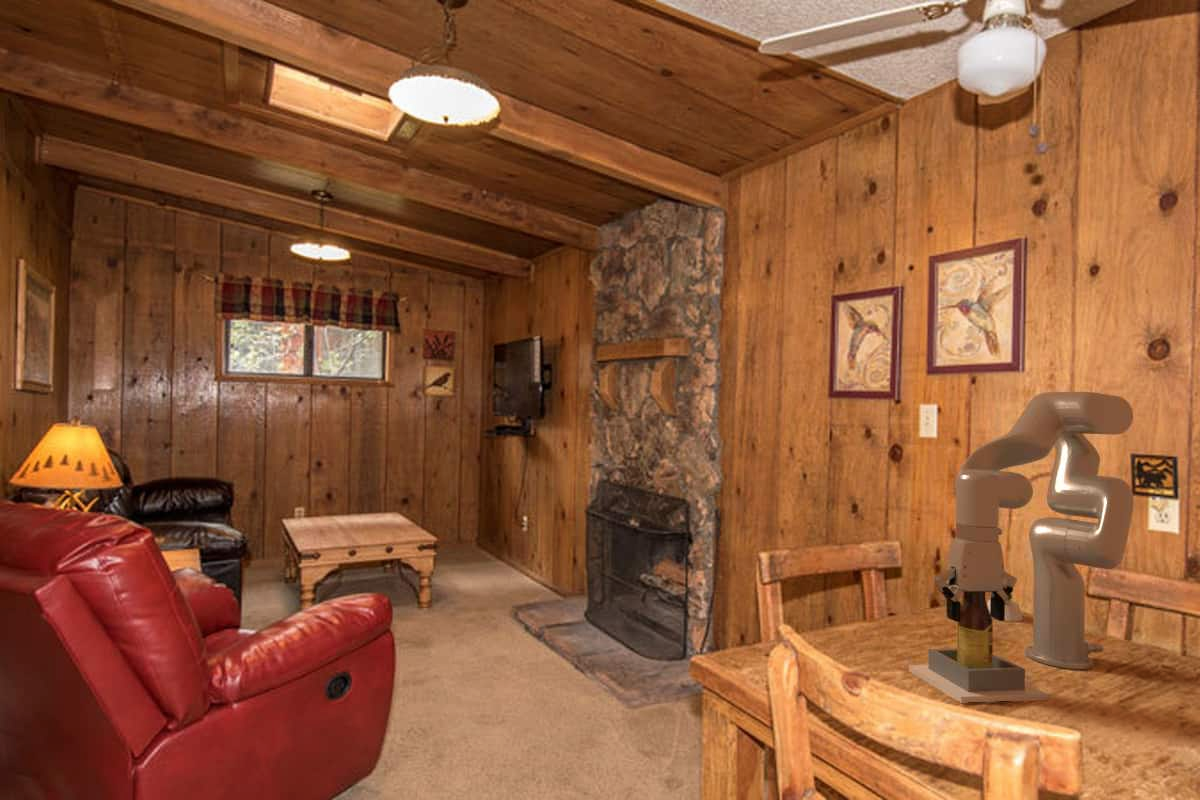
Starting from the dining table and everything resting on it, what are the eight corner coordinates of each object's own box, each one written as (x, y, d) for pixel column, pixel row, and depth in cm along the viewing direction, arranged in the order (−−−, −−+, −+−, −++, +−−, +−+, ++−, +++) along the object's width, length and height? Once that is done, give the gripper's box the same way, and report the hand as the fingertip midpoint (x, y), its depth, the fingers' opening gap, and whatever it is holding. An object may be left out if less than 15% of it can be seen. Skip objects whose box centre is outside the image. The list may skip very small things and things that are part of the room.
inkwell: (1021, 615, 186) (1021, 579, 187) (1027, 633, 170) (1027, 593, 171) (983, 610, 191) (983, 574, 191) (985, 626, 175) (985, 588, 175)
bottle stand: (986, 668, 144) (986, 644, 144) (1046, 700, 128) (1047, 672, 128) (909, 671, 141) (909, 646, 141) (961, 703, 125) (961, 675, 125)
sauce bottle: (997, 686, 131) (999, 584, 131) (962, 683, 132) (964, 582, 132) (985, 673, 137) (987, 576, 137) (952, 670, 138) (953, 574, 138)
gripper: (1001, 530, 140) (1000, 613, 140) (925, 530, 138) (924, 614, 137) (1029, 537, 133) (1028, 624, 132) (950, 537, 130) (948, 626, 130)
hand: (975, 619), depth 135 cm, fingers open, 9 cm apart
